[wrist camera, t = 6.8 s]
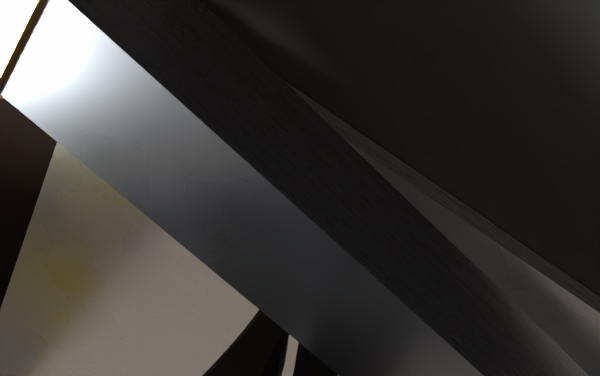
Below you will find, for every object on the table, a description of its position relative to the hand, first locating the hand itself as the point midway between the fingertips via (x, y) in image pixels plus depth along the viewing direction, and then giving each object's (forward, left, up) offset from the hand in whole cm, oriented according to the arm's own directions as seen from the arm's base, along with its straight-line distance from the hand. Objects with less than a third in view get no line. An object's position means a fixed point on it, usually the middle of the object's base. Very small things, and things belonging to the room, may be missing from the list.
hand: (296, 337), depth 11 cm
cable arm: (-1, -3, -1) cm, 4 cm away
